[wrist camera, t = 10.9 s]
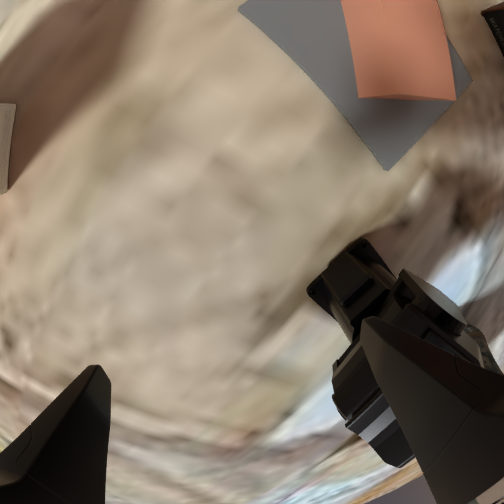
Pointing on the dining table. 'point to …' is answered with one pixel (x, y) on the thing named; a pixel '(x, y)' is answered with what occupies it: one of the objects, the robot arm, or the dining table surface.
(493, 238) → the dining table surface
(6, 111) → the supplement box
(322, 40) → the rubber mat
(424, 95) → the brick-red block
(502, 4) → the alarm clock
